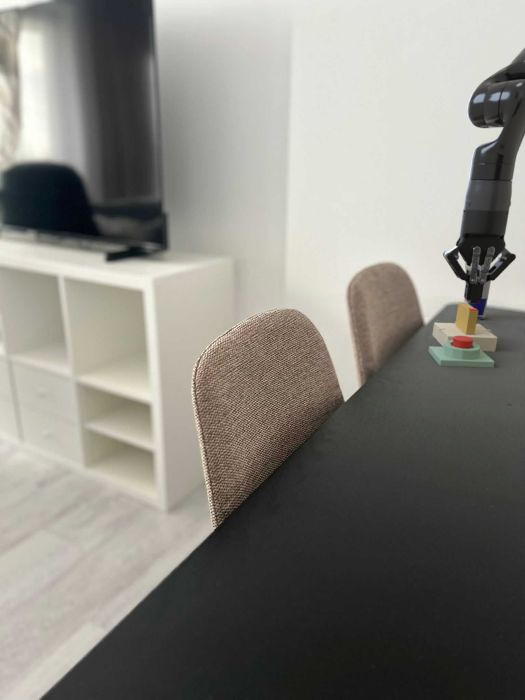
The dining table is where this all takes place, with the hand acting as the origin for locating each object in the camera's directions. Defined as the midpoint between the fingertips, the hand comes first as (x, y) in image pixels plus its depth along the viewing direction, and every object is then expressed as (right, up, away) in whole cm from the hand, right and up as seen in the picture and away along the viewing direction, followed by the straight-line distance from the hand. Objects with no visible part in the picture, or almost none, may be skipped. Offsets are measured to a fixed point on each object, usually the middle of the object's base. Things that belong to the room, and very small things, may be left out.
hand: (471, 302), depth 96 cm
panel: (+3, -7, +13) cm, 16 cm away
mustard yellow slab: (+4, -5, +12) cm, 14 cm away
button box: (-1, -11, +4) cm, 11 cm away
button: (-1, -8, +3) cm, 9 cm away
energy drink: (+14, -1, +34) cm, 37 cm away
